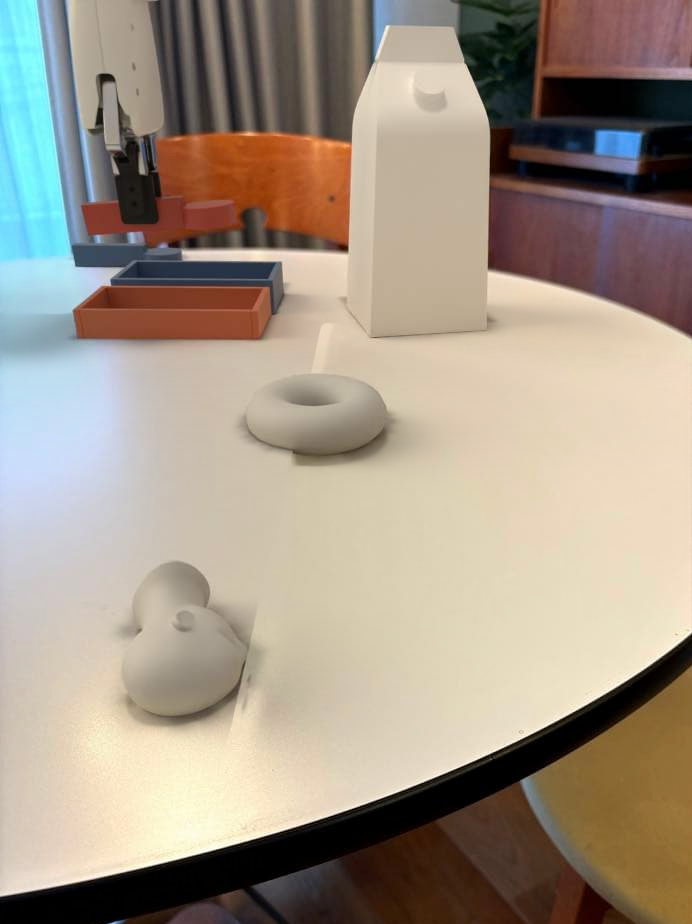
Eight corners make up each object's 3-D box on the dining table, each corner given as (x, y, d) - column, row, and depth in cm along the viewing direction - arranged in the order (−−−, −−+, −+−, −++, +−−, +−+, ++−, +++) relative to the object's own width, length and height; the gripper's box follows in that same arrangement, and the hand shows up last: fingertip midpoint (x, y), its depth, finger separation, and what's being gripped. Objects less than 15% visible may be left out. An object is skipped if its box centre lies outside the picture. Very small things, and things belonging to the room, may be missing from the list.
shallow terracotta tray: (82, 239, 74) (74, 208, 72) (98, 229, 78) (91, 200, 76) (233, 227, 74) (227, 196, 72) (240, 218, 78) (236, 188, 76)
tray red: (79, 347, 76) (72, 309, 75) (107, 320, 84) (101, 285, 83) (260, 348, 77) (257, 311, 75) (271, 321, 85) (269, 286, 83)
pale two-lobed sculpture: (237, 750, 34) (108, 737, 32) (234, 632, 41) (126, 616, 39) (262, 670, 32) (126, 652, 30) (254, 559, 39) (142, 540, 37)
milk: (451, 301, 93) (463, 29, 80) (486, 330, 83) (506, 26, 70) (346, 307, 90) (340, 26, 77) (370, 337, 80) (368, 22, 67)
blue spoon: (71, 269, 104) (67, 247, 103) (82, 261, 108) (79, 240, 107) (179, 270, 104) (176, 248, 103) (186, 261, 109) (184, 241, 107)
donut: (277, 405, 65) (224, 454, 56) (275, 362, 63) (219, 406, 55) (401, 418, 63) (364, 470, 54) (402, 374, 61) (364, 421, 53)
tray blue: (115, 313, 87) (109, 279, 85) (137, 291, 95) (133, 260, 93) (274, 314, 87) (272, 280, 85) (283, 292, 95) (281, 261, 93)
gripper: (90, -15, 73) (125, 208, 82) (24, -32, 59) (74, 237, 68) (176, -15, 73) (201, 208, 82) (129, -31, 59) (166, 237, 69)
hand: (143, 220), depth 75 cm, fingers closed on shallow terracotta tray, 1 cm apart
